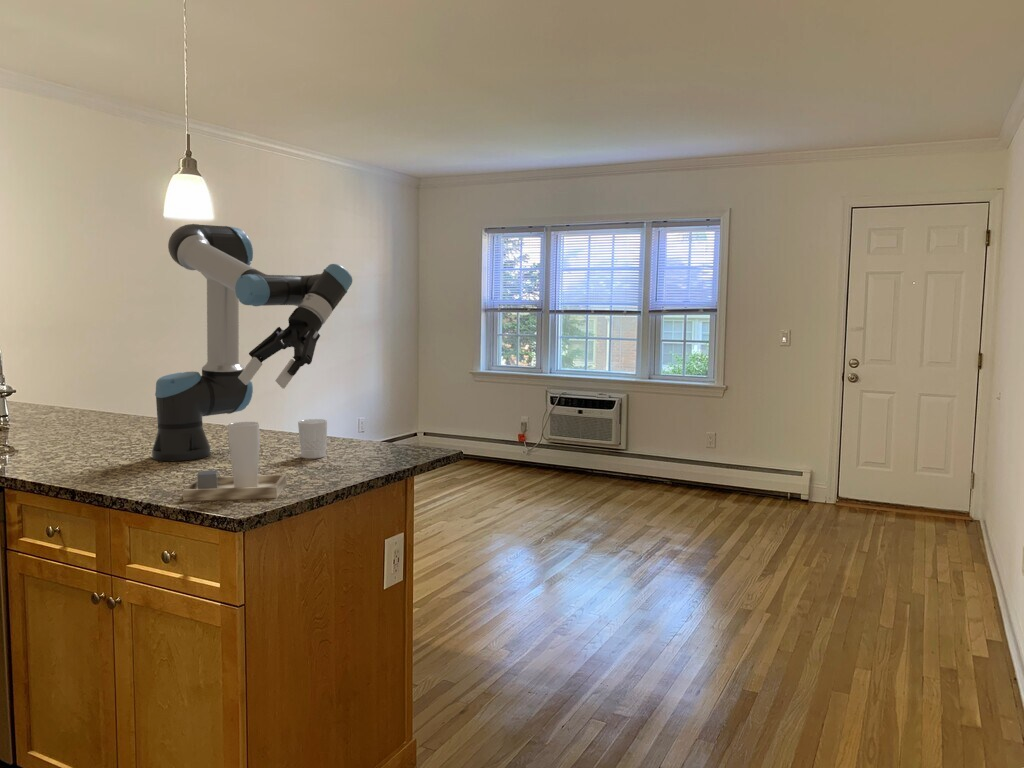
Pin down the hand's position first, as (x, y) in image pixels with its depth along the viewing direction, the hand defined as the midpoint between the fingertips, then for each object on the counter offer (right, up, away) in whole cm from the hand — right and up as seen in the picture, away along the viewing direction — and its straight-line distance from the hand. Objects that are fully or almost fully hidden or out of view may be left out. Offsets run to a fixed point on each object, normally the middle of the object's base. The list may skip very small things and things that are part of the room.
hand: (260, 383), depth 184 cm
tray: (-5, -25, -2) cm, 26 cm away
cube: (-11, -24, -2) cm, 27 cm away
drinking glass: (-3, -24, -1) cm, 24 cm away
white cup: (+2, -21, +40) cm, 45 cm away
